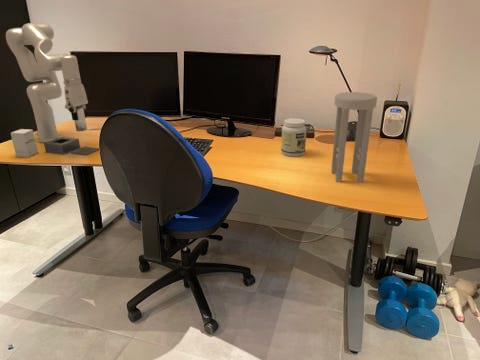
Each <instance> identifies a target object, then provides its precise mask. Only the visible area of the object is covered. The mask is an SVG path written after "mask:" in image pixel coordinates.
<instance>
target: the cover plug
mask: <svg viewBox="0 0 480 360" xmlns="http://www.w3.org/2000/svg"><path fill="white" fill-rule="evenodd" d="M72 109H73V107H72ZM76 112H77V116H78V120H77V121H76V120H73V121H74V125H75V130H76V132H84V131H85V132H86V131H88V127H87V122H86V118H85V114H84V109H83V106H82V105H81V106H77V107H76Z"/></svg>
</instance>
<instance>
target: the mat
mask: <svg viewBox="0 0 480 360" xmlns="http://www.w3.org/2000/svg"><path fill="white" fill-rule="evenodd" d="M98 151H100V150H99V147H92V146H82V147H80V148H79V149H76V150H74V151H72V152H70V154H72V155H79V156H80V155H81V156H85V157H86V156H89V155H92V154H93V153H95V152H98Z"/></svg>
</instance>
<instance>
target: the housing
mask: <svg viewBox="0 0 480 360" xmlns="http://www.w3.org/2000/svg"><path fill="white" fill-rule="evenodd" d="M43 147H44V150H45V153H48V154H55V155H63V156H64V155H67V154H69V153H71V152H73V151H75V150H77V149H80V148H81V144H80V139H79V138H75V137H67V136H61V137H59V138H56V139H54V140H51V141H48V142H43Z"/></svg>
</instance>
